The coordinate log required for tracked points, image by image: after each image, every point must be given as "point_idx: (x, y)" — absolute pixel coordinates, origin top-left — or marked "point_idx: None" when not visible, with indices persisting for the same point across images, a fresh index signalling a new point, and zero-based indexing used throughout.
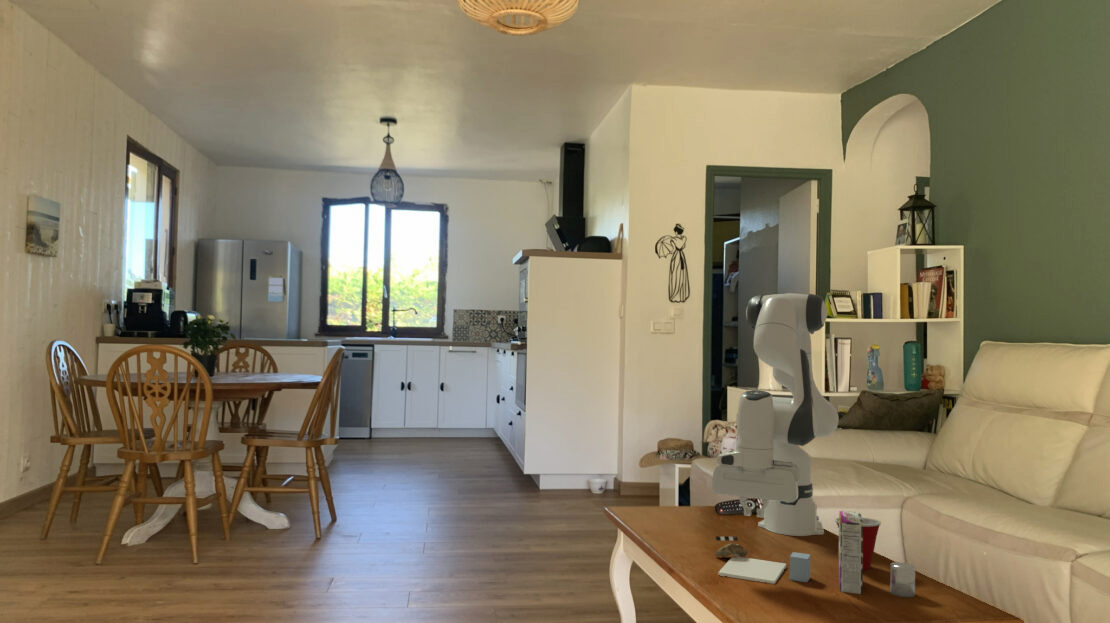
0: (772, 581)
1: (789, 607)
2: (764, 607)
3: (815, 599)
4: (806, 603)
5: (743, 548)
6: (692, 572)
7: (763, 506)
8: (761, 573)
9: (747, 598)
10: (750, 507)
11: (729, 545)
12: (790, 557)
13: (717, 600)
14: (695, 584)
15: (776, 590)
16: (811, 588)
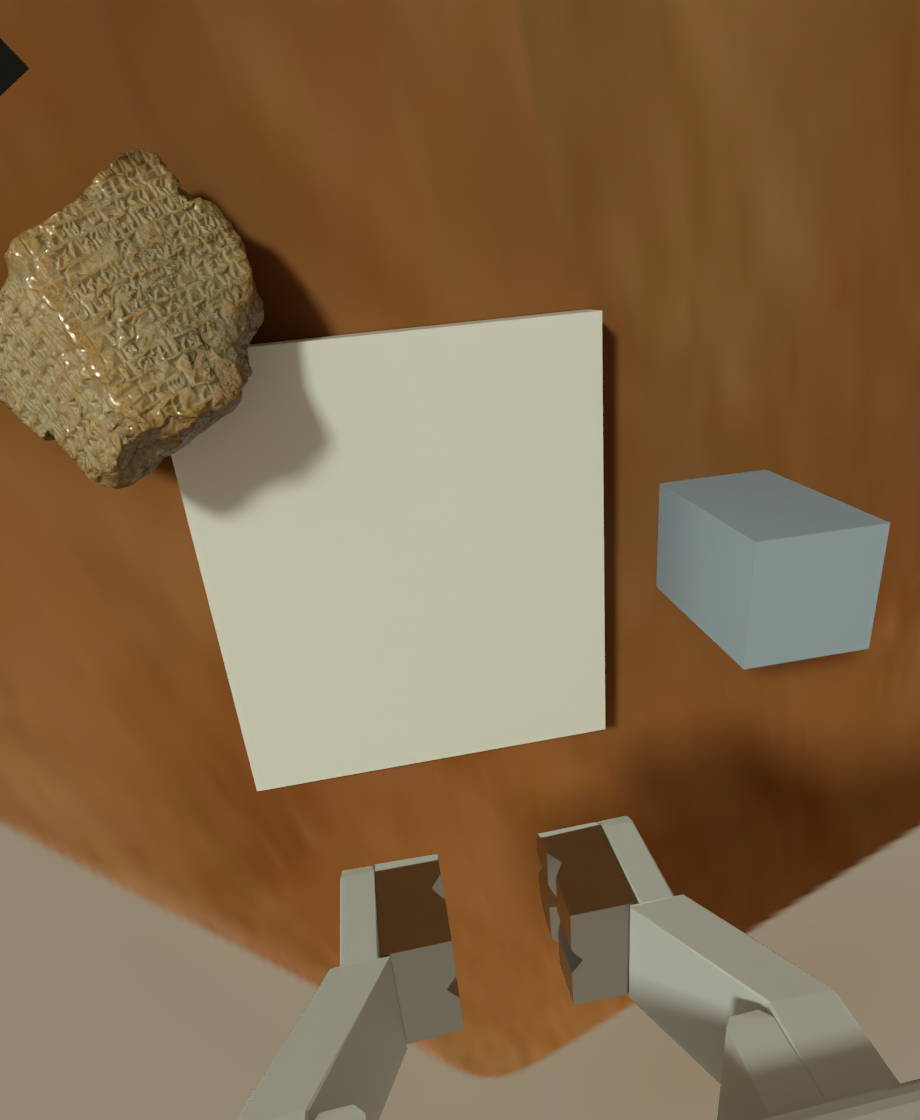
0: (591, 727)
1: (704, 904)
2: None
3: (804, 753)
4: (768, 822)
5: (241, 385)
6: (77, 787)
7: (717, 1058)
8: (500, 650)
9: (516, 927)
10: (434, 948)
11: (120, 471)
12: (742, 663)
13: None
14: (214, 931)
15: (615, 756)
16: None
